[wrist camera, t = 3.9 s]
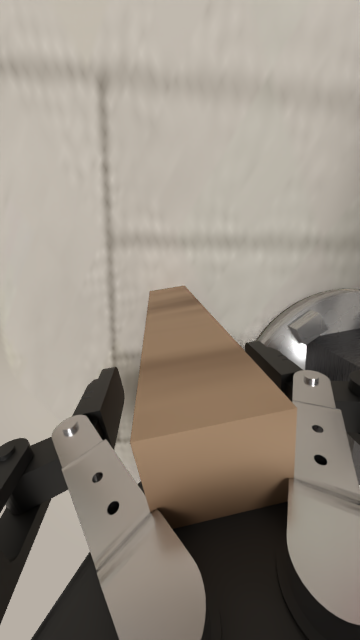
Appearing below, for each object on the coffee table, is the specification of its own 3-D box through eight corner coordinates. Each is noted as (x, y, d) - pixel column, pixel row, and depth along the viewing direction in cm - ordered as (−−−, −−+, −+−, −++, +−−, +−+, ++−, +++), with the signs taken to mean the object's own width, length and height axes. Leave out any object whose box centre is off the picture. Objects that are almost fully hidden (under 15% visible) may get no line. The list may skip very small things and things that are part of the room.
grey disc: (237, 305, 19) (285, 335, 12) (420, 274, 20) (558, 286, 13) (246, 461, 25) (281, 540, 18) (385, 431, 26) (467, 494, 19)
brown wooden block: (149, 291, 18) (129, 442, 4) (184, 285, 18) (296, 407, 4) (163, 363, 20) (184, 632, 6) (194, 357, 20) (287, 605, 6)
